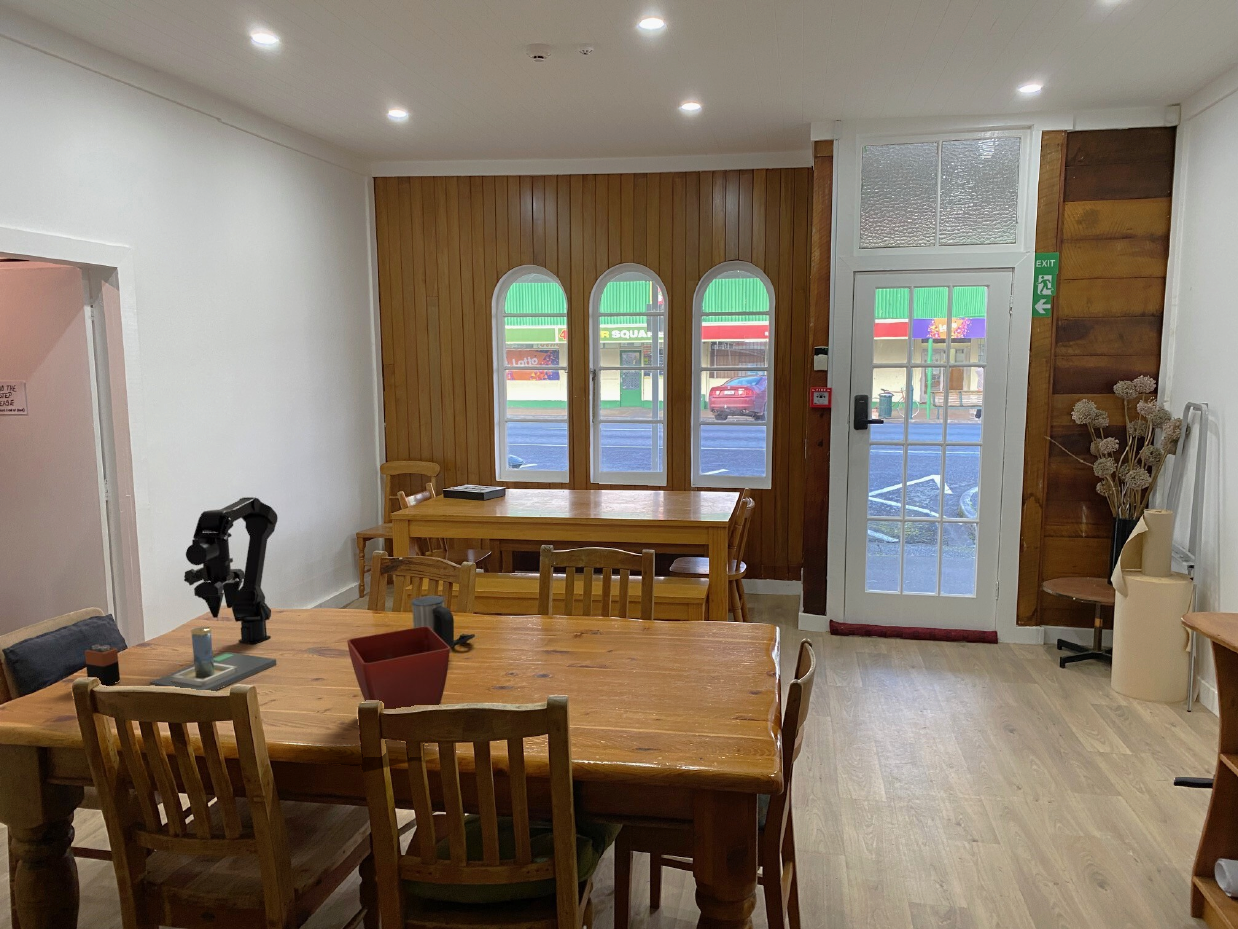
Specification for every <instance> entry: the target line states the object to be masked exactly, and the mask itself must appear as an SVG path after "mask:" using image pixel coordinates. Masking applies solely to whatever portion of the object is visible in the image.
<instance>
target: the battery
mask: <svg viewBox="0 0 1238 929" xmlns="http://www.w3.org/2000/svg"><path fill="white" fill-rule="evenodd" d="M118 654H119V653H118V649H117V648H116V647H111V646H110V645H109V644H108V645H99V644H94V645H92V648H89V649H86V650H85V651H84V655H85V656H84V657H85V666H86V676H87V677H97V678H99V680H100V681H101V684H102V685H106V686H109V685H111V686H114V685H116V684H115V682H118V681H119V680H120V681H121V676H120V666H119V656H118ZM87 677H86V678H87ZM109 687H110V686H109Z"/></svg>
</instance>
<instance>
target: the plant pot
mask: <svg viewBox="0 0 1238 929" xmlns="http://www.w3.org/2000/svg"><path fill="white" fill-rule="evenodd" d="M346 642H347V648H348V652H349V657H350V661H351V663H352V667H353V668H352V669H353V671H354V675H355V677H356V681H357V683H358V687H359V690H360V692H361V695H362V697H363V700H364V702H365V701H366V700H379V701H382V702H383V703H384V709H396V708H401V707H411V706H414V705H439V704H440V705H441V702H442V699H443V695H444V692H445V691H444V690H445V687H446V682H447V676H448V671H449V661H450V653H451V652H450V651H451V648H450V647H449V646H448V645H447V644H446V643H445V642H444V641H443V640H442V639H441V638H440V637H439V636H438V635H437V634H436V633H435V632H434V631H433V630H432V629H431V628H430V627H428V626H423V627H417V628H414V627H411V628H406V629H400V630H395V631H388V632H383V633H377V634H369V635H365V636H359V637H354V638H349V639H347V641H346Z"/></svg>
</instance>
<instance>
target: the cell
mask: <svg viewBox="0 0 1238 929" xmlns="http://www.w3.org/2000/svg"><path fill="white" fill-rule="evenodd" d="M190 632H191V633H190V634H191V641H192V642H191V644H192V653H193V655H192V656H193V665H194V666H195V676H196V678H206V677H210V676H212V675H214V674H215V673H214V662H213V657H214V653H213V643H212V642H213V641H212V630H211V626H200V627H195V628H192V629H191V631H190Z"/></svg>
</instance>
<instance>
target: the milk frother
mask: <svg viewBox="0 0 1238 929" xmlns="http://www.w3.org/2000/svg"><path fill="white" fill-rule="evenodd" d="M445 600H446V599H445V597H444V596H439V595H427V596H420V597H417V598H414V599H412V600H411V601H410V603H411V610H412V623H413V624H412V625H413V628H417V627H423V626H428V627H430V628H431V629H432V630H433V631H434V632H435V633H436V634H437V635H438V636H439V637H440V638H441V639H442V640H443V641H444V642H445V643H446V644H447V645H448V646H449V647H450V649H452V648H453V647H455V646H458V645H460V644H463V645H464V644H466V643H467V642H468V641H470V640H472V639H474V638H475V637H476V634H475V633H471V634H467V633H462V634H460V635H459V636H458V637H457V639H455V625H454V624H455V619H454V616H453V613H452V611H451V610H450V609H449V608H448V607H446V606H445Z"/></svg>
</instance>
